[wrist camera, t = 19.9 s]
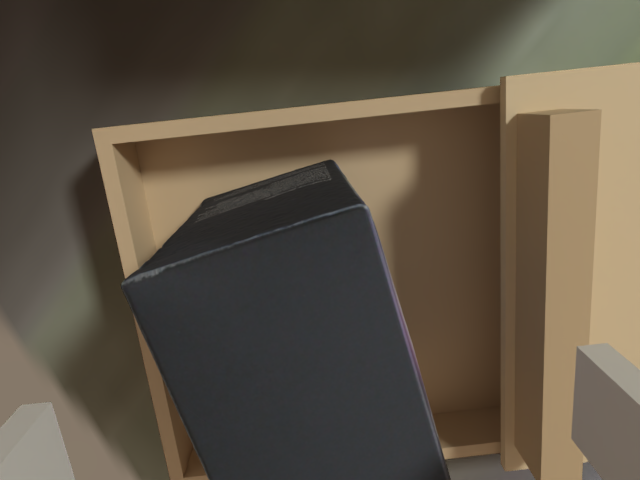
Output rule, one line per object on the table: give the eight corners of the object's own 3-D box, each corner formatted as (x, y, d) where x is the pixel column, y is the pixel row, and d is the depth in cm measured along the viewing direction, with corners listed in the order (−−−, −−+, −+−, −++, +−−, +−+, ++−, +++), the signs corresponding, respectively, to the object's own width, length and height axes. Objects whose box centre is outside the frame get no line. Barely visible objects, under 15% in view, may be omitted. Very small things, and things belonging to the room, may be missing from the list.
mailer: (124, 124, 21) (91, 129, 18) (583, 76, 21) (636, 71, 18) (189, 439, 25) (172, 490, 22) (569, 396, 26) (610, 440, 22)
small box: (405, 363, 24) (483, 557, 13) (277, 401, 24) (260, 620, 14) (340, 152, 21) (379, 198, 11) (196, 199, 21) (101, 287, 11)
